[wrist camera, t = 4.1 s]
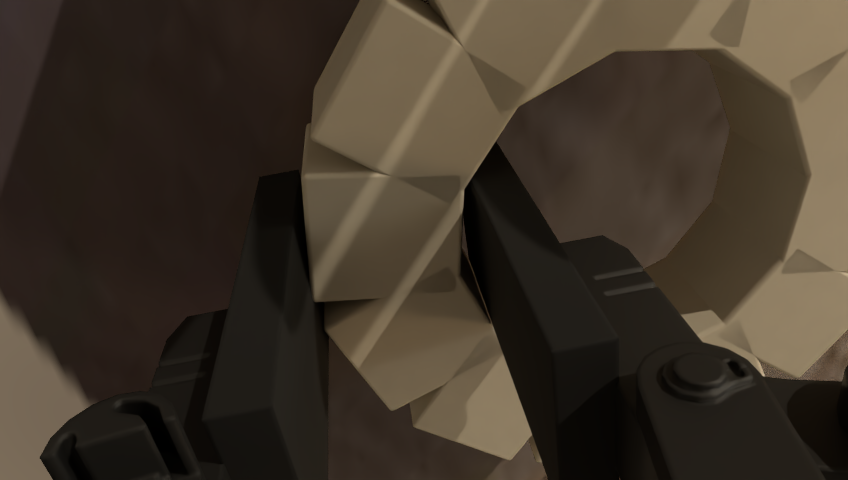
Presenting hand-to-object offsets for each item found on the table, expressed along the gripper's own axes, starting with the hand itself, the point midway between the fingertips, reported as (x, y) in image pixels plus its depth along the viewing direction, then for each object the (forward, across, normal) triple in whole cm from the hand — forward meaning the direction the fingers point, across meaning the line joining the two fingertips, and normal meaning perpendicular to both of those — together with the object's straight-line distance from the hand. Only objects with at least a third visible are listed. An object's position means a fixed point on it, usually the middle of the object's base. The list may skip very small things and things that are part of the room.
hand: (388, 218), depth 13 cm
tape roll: (0, -4, 0) cm, 4 cm away
